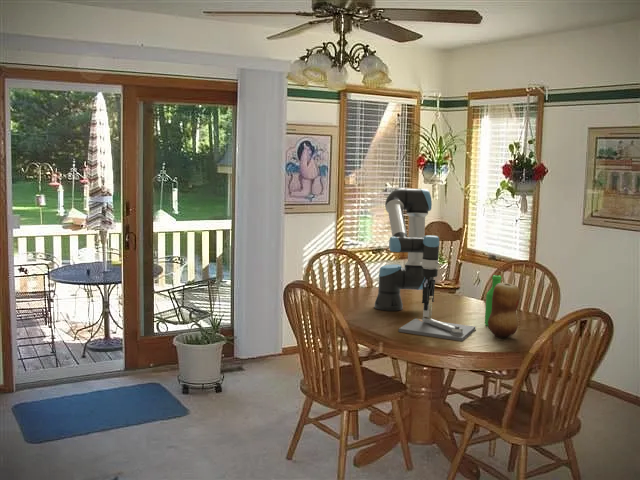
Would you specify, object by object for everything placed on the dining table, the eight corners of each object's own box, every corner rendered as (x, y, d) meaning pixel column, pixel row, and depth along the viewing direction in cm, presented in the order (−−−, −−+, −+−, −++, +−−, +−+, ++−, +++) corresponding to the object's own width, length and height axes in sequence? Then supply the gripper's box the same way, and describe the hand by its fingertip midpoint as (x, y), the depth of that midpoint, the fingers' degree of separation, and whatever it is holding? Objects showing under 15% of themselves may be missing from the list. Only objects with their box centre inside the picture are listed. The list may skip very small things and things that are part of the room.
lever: (464, 333, 310) (466, 306, 309) (456, 334, 308) (457, 306, 306) (428, 320, 333) (429, 294, 332) (420, 321, 331) (421, 295, 329)
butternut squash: (515, 342, 305) (519, 287, 302) (485, 338, 310) (488, 284, 307) (518, 335, 318) (521, 282, 315) (488, 331, 323) (492, 279, 320)
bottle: (492, 328, 330) (496, 277, 327) (480, 324, 337) (483, 274, 334) (506, 327, 334) (510, 276, 331) (494, 323, 341) (497, 273, 338)
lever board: (398, 331, 318) (398, 327, 317) (415, 321, 340) (415, 317, 339) (462, 341, 305) (462, 337, 304) (475, 329, 326) (475, 325, 326)
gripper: (432, 271, 318) (429, 320, 321) (442, 266, 333) (439, 313, 336) (416, 269, 321) (414, 318, 324) (427, 265, 336) (425, 311, 339)
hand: (427, 315), depth 330 cm, fingers closed on lever, 4 cm apart
